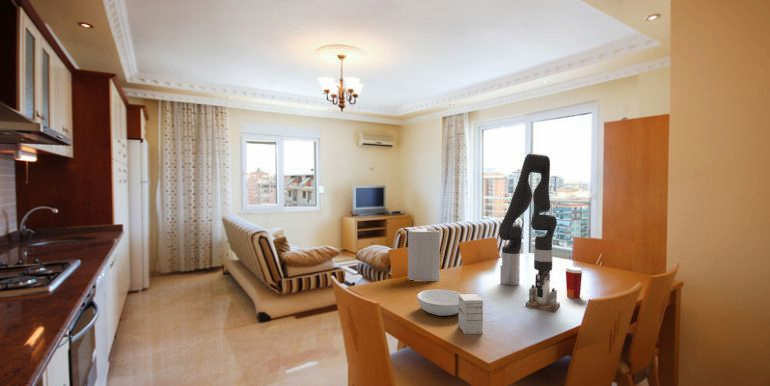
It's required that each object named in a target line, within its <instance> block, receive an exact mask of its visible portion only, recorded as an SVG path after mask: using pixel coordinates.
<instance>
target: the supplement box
mask: <svg viewBox="0 0 770 386" xmlns="http://www.w3.org/2000/svg"><path fill="white" fill-rule="evenodd" d="M483 320H484V300H483V299H482V298H481V297H480V296H479V295H478V294H476V293H471V294H468V293H466V294H463V295H459V313H458V323H457V324H458V327H459V328H460V330H461V331H462V333H463V334H464V335H473V334H474V335H475V334H477V335H478V334H483V331H484V330H483V329H484V327H483V326H484V321H483Z"/></svg>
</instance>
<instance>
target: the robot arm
mask: <svg viewBox="0 0 770 386" xmlns="http://www.w3.org/2000/svg"><path fill="white" fill-rule="evenodd" d="M522 163H523V164H522V167H521V171H520V175H519V178H518V182H517V184H516V187H515V189H514V191H513V194H512V198H511V200H510V203H509V205H508V208H507V211H506V213H505V216H504V217H503V220H502V221H501V224H500V225H499V229H498V236H499V238H500V240H502V241H509V242H508V243H507V244H505V245H503V246H502V247H501V265H500V279H499V281H500V284H503V285H505V286H512V287H513V286H514V287H515V286H519V285H520V275H521V271H520V270H521V269H520V265H521V264H520V261H521V260H520V259H521V258H520V257H521V248H522V239H523V238H522V237H523V230H522V227H521V224H519V223H517V222H516V220H517V219H519V218H520V217H521V216H522V215H523V214H524V213H525V212H526V211H528V208H529V207H530V205H531V202H533V213H532V217H531V220H530V225H531V228H532V229H533V230H534V231H543V232H544V231H546V232H545V233H543V234H540V235H537V236H536V237H535V238H534V254H533V255H534V256H533V258H534V259H533V268H534V270H536V271H538V272H537V273H536V274H535V283H534V286H535V288H537V297H540V298H542V297H543V285H545V282H546V280H549V281H550V280H551V279H550V278H551V271H552V270H553V250H552V249H553V239H554V234H555V231H556V228H557V225H558V220H557V218H556V216H555V215H552V214H542V213H546V212H549V211H550V210H551V200H550V199H551V198H550V180H551V179H550V178H551V177H550V176H551V161H550V157H549V156H548V155H546V154H542V153H541V154H540V153H535V152H534V153H532V152H529V153H528V154H526V156H525V157H524V160H523V162H522ZM531 173H534V174H535V173H536V174H540V180H539V181H538V184H537V185H536V187H535V189H534V190H533V191H532V188H531V185H530V181H529V179H530V174H531ZM539 284H540V286H539Z"/></svg>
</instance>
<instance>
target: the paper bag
mask: <svg viewBox="0 0 770 386" xmlns="http://www.w3.org/2000/svg"><path fill="white" fill-rule="evenodd" d="M440 235H441V231H440V230H437V229H435V228H431V227H424V228H418V229H412V230H411V229H410V230H408V231H407V280H408V279H409V280H408V281H410V280H420V281H419V282H426V281H437V282H439V281H438V280H440V276H441V275H440V272H441V271H440V270H441V269H440V268H441V267H440V266H441V264H440V259H441V251H440V249H441V246H440V245H441V243H440V242H441V241H440V240H441V236H440ZM421 280H422V281H421Z"/></svg>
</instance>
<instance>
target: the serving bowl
mask: <svg viewBox="0 0 770 386" xmlns="http://www.w3.org/2000/svg"><path fill="white" fill-rule="evenodd" d="M459 295H463V294H462V293H460V292H458V291H454V290H450V289H449V290H448V289H439V288H436V289H426V290H423V291H420V292H419V293H417V301H418V305H419V306H420V308H421V309H422V310H423V311H425V312H427V313H428V314H432V315H436V316H442V317H445V316H447V317H449V316H452V315H453V316H454V315H457V314H459Z"/></svg>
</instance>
